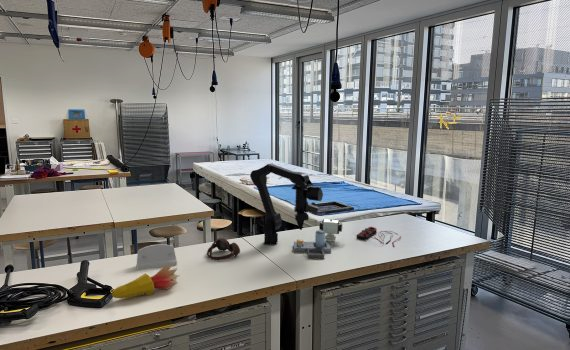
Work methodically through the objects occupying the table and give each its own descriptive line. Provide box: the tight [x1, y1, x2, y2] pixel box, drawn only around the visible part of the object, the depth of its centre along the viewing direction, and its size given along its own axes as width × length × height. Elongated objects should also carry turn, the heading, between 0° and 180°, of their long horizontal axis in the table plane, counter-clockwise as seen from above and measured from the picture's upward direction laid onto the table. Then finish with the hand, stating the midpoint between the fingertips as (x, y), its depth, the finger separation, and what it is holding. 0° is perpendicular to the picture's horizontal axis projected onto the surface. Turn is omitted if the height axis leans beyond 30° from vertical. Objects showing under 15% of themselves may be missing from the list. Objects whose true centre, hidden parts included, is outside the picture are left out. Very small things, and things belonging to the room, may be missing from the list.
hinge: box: [136, 243, 178, 271], centre depth 167 cm, size 17×5×10 cm, turn 112°
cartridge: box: [314, 229, 326, 247], centre depth 190 cm, size 5×5×9 cm
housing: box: [293, 241, 332, 254], centre depth 190 cm, size 18×10×2 cm, turn 90°
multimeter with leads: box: [356, 226, 401, 248], centre depth 210 cm, size 23×4×25 cm
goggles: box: [206, 237, 241, 261], centre depth 178 cm, size 15×13×10 cm
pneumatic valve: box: [318, 218, 343, 243], centre depth 203 cm, size 6×12×12 cm, turn 76°
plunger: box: [296, 239, 304, 246], centre depth 190 cm, size 3×3×4 cm
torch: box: [111, 262, 182, 299], centre depth 140 cm, size 8×8×25 cm
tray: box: [306, 249, 325, 260], centre depth 181 cm, size 7×7×2 cm
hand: (300, 229), depth 189 cm, fingers closed
